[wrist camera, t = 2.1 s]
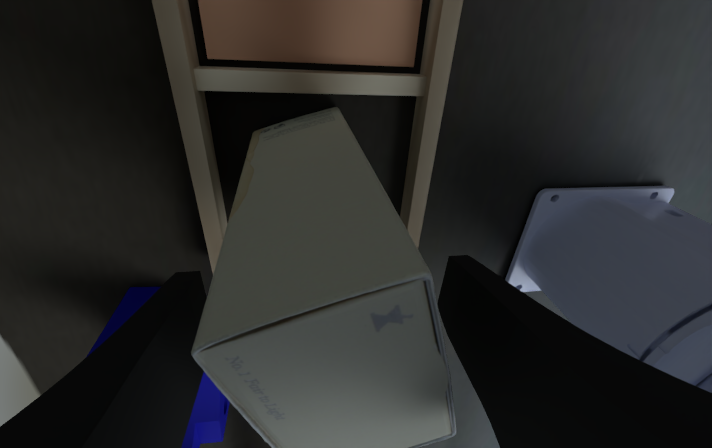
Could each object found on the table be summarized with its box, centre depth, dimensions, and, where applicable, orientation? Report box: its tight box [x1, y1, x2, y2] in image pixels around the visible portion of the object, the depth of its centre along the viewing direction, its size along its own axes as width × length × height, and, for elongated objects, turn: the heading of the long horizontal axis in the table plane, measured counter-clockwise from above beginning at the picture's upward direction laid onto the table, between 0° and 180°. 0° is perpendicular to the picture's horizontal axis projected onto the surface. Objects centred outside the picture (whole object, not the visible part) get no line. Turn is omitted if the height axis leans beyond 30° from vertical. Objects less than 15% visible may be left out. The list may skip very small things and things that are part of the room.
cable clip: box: [87, 287, 229, 448], centre depth 20 cm, size 12×4×6 cm, turn 173°
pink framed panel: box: [152, 0, 463, 274], centre depth 14 cm, size 11×19×2 cm, turn 177°
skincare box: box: [191, 107, 456, 448], centre depth 12 cm, size 6×4×12 cm
